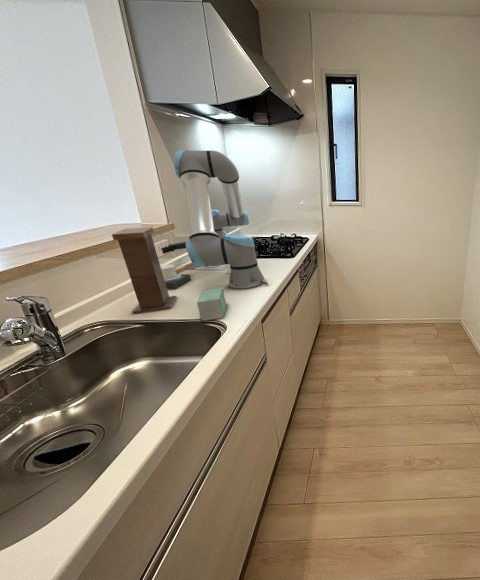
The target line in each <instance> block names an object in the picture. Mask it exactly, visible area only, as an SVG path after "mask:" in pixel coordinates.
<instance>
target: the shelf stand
mask: <svg viewBox="0 0 480 580" xmlns="http://www.w3.org/2000/svg"><path fill="white" fill-rule="evenodd" d="M154 233H155V232H154V228H153V226H149V227H137V228H136V227H135V228H123V229H121V230H119V231H117V232H114V233H112V234H111V236H112V240H113V241H118V244H119V248H120V251H121V254H122V257H123V261H124V262H125V266H126V269H127V273H128V276H129V278H130V282H131V284H132V287H133V291H134V293H135V296H136V300H137V302H138V304H137V306H136V307H135V308H134V309H133V310H132V314H134V315H136V314H142V313H149V312H157V311H158V312H159V311H164V310H170V309H171V308H172V307H173V305H174V303H175V302H176V300H177V299H178V298H177V295H172V296H170V295H169V291H168V289H167V287H166V284H165V280H164V277H163V274H162V270H161V267H160V266H161V264H160V259H159V256H158V253H157V250H156V246H155V243H154V239H153V236H152V234H154Z"/></svg>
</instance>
